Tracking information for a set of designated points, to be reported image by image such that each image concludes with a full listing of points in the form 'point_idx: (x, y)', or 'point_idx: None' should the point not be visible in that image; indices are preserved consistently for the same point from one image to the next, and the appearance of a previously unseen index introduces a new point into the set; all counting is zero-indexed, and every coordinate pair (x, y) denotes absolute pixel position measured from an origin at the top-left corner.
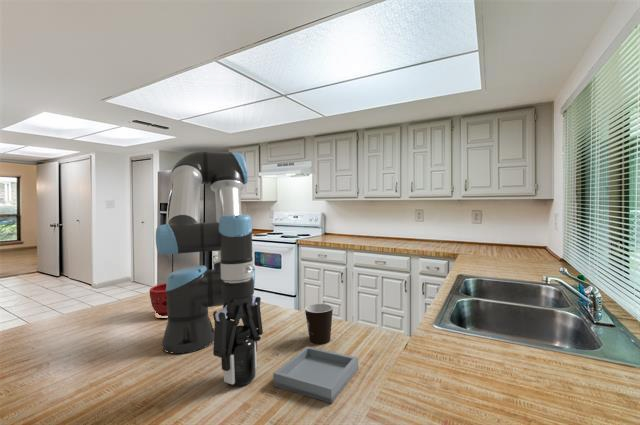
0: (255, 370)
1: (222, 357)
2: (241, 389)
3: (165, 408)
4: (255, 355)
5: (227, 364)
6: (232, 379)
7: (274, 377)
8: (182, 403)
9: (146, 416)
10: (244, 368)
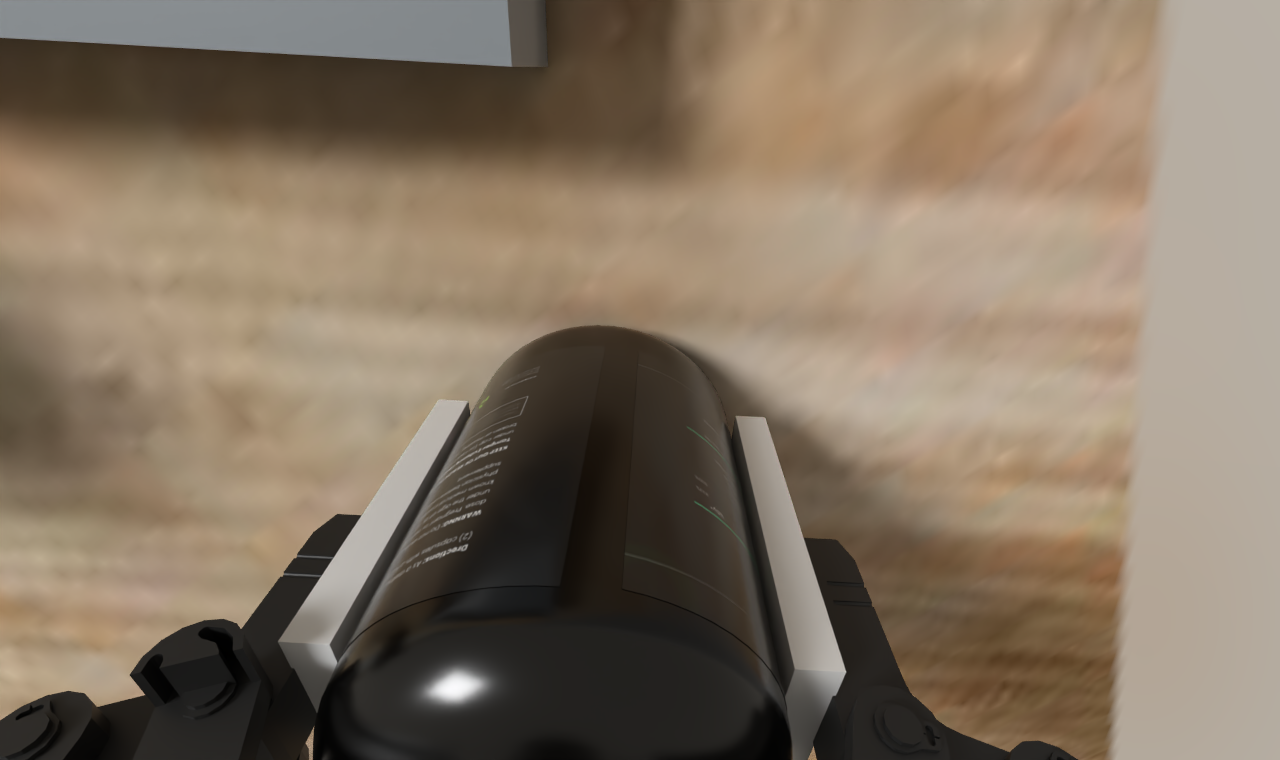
0: (508, 368)
1: (1060, 752)
2: (719, 338)
3: (1019, 602)
4: (399, 483)
5: (850, 601)
6: (772, 446)
7: (523, 45)
8: (963, 563)
9: (1094, 628)
10: (685, 431)
